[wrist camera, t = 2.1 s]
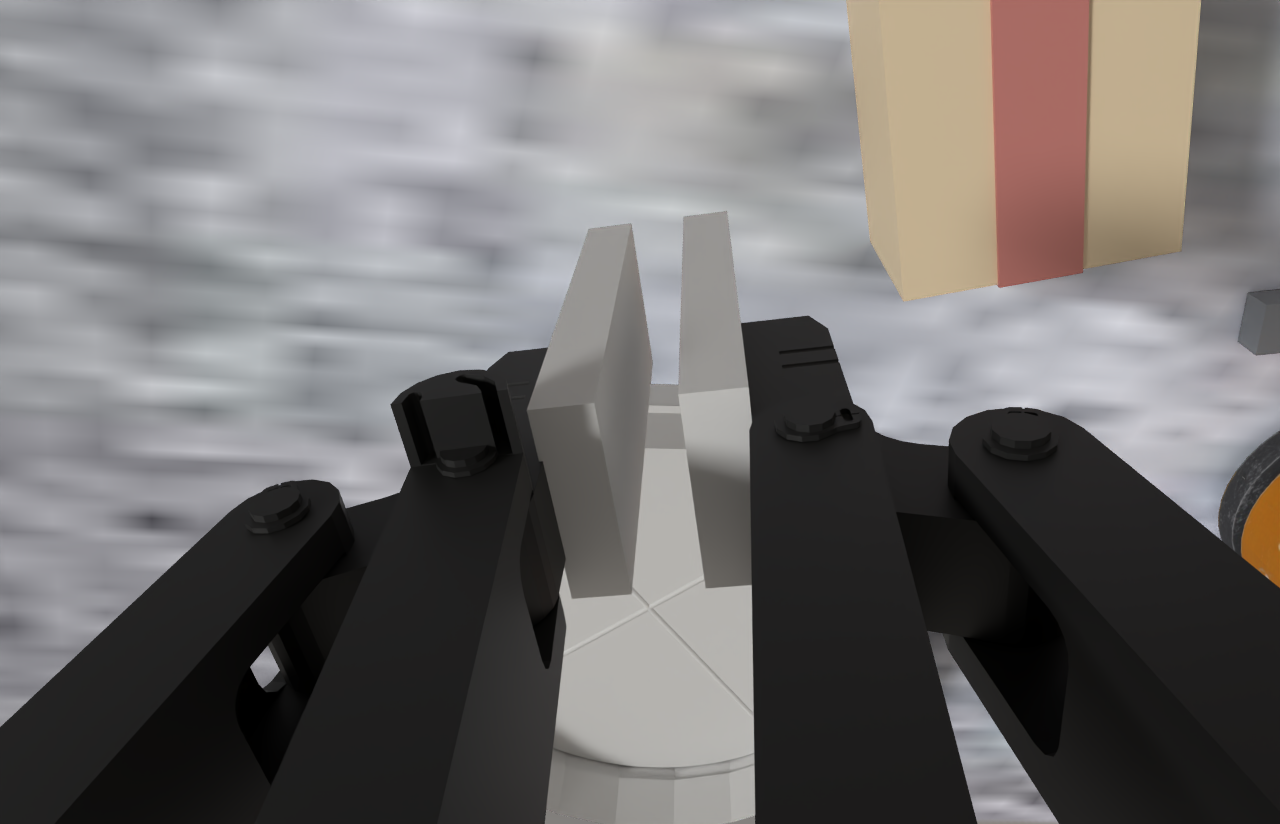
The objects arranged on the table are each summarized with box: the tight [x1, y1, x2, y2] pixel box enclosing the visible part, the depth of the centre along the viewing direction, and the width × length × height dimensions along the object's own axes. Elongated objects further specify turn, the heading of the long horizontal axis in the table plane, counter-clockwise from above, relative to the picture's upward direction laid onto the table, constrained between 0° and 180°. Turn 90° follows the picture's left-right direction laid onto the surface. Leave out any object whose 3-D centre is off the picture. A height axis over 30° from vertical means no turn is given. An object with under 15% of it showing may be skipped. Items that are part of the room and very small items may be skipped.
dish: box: [546, 384, 755, 824], centre depth 38 cm, size 22×22×5 cm
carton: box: [846, 0, 1201, 301], centre depth 26 cm, size 10×8×6 cm
